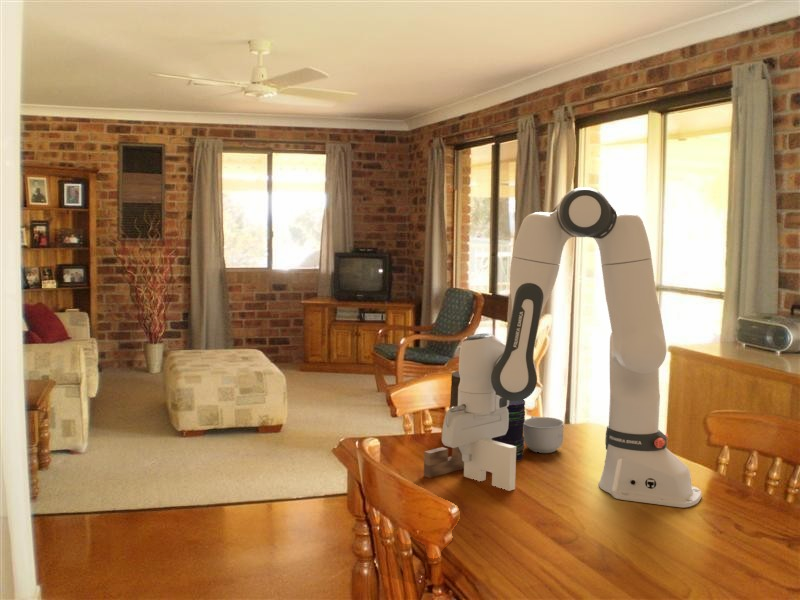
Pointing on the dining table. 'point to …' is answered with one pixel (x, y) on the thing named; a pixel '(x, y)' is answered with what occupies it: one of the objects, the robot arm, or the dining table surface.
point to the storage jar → (515, 427)
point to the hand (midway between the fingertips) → (474, 459)
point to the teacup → (543, 434)
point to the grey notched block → (442, 461)
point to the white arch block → (492, 463)
